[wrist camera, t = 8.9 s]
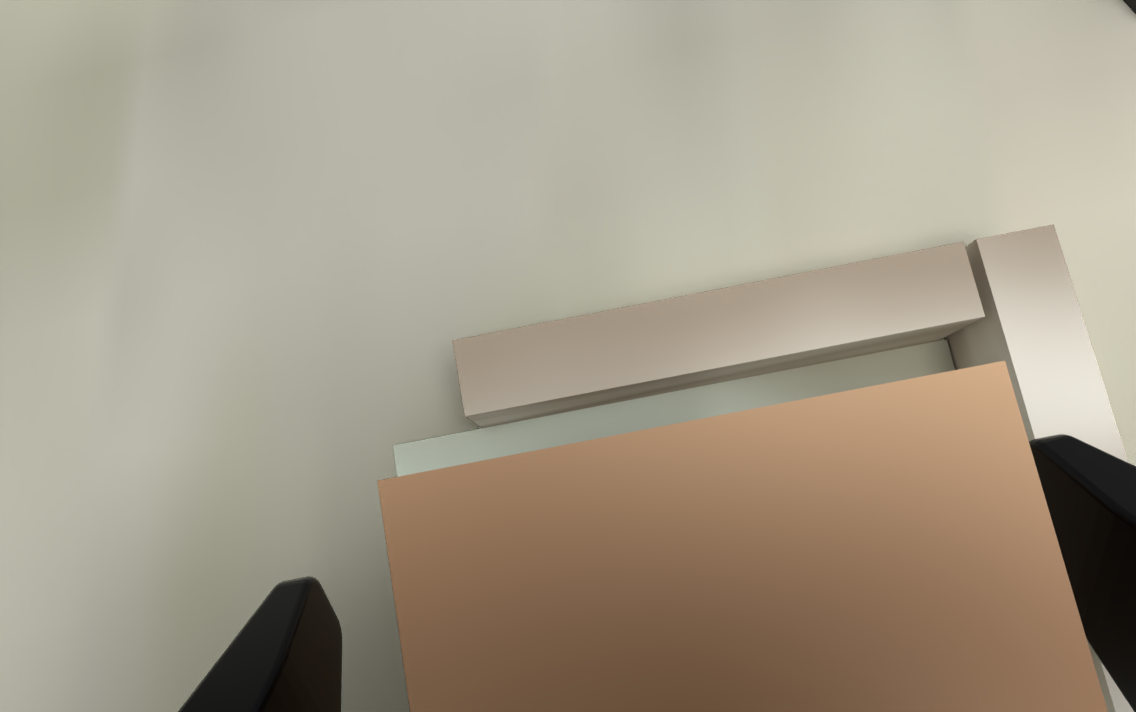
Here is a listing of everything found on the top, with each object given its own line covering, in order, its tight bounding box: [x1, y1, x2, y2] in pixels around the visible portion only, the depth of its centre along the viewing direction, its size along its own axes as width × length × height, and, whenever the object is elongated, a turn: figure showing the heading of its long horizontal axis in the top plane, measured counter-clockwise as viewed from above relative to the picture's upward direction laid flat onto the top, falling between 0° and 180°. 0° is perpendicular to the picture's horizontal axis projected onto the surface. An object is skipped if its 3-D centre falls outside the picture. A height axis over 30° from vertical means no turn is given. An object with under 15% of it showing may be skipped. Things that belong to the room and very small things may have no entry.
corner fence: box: [393, 224, 1134, 712], centre depth 16 cm, size 14×14×2 cm
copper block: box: [378, 361, 1108, 712], centre depth 11 cm, size 4×4×12 cm
